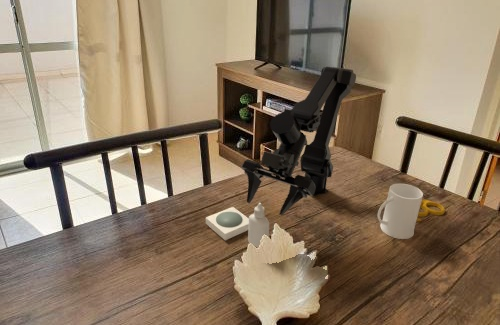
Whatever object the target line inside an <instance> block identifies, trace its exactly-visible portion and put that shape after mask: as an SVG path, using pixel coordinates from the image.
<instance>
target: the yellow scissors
mask: <svg viewBox="0 0 500 325" xmlns="http://www.w3.org/2000/svg"><path fill="white" fill-rule="evenodd" d="M428 206H432V207H436V208H439V209H440V210H435V209H432V208H430V207H428ZM420 209H422V210H423V211H422V212H421V211H419V212H418V216H417V220H416V222H422V219H421V217H423V218H424V217H426V216H428V215H429V214H430V215H435V216H442V215H445V212H446V209H445V207H444V206H443V205H442V204H440V203H438V202H434V201H431V200H428V199H424V198H422V201H421V205H420ZM419 217H420V218H419Z"/></svg>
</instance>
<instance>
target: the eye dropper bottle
mask: <svg viewBox="0 0 500 325" xmlns="http://www.w3.org/2000/svg"><path fill="white" fill-rule="evenodd" d="M253 209H254V210H253V211H254V212H253V213H251V214H250V215H249V216H248V218H249V226H248V230H247V234H248V235H247V241H248V243H249V244H250V243H252V244H253V245H254V246H256V247H258V246H259V244H260V240H261V238H262V236H263V235H264V234H265V235H267V236H268V237H269V236H270V222H269V219H268V218H267V217H266V216H265V212H266V211H265V209H266V208H265V207H264V206H262V203H261V202H259V203H258V204H257V206H255V207H254V208H253ZM269 238H270V237H269Z"/></svg>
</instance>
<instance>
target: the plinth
mask: <svg viewBox="0 0 500 325" xmlns="http://www.w3.org/2000/svg"><path fill="white" fill-rule="evenodd" d="M205 225H206V226H207V227H209V228H210V229H211V230H212V231H213V232H215V234H217V235H218V236H219V237H220V238H221V239H222V240H224V241H228V240H229V239H231V238H235V237H236V236H238V235H240V234H243V233H245V232H248V226H249V217H247V216H246V215H245V214H243V213H242V212H241V211H239V210H238V209H237V208H235V207H234V206H231V207H229V208H226V209H224V210H222V211H219V212H216V213H214V214H211V215H209V216H206V217H205Z"/></svg>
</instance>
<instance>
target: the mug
mask: <svg viewBox="0 0 500 325" xmlns="http://www.w3.org/2000/svg"><path fill="white" fill-rule="evenodd" d="M423 197H424V193H423V191H422V190H421V189H419V188H418V187H417V186H415V185H411V184H407V183H393V184H391V185H390V186H389V189H388V194H387V197H386V200H385V201H384V202H382V203H381V205H380V207H379V209H378V211H377V220H378V221H379V222H380V229H381V231H382V232H383V234H386V235H388V236H389V237H391V238H394V239H399V240H408V239H411V238H413V236H414V234H415V227H416V222H417V221H416V220H417V216H418V212H420V209H421V208H420V205H421V201H422V199H423ZM383 209H384V211H383ZM382 211H383V216H382V217H381V213H382ZM418 217H419V216H418ZM381 218H382V219H381Z"/></svg>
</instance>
